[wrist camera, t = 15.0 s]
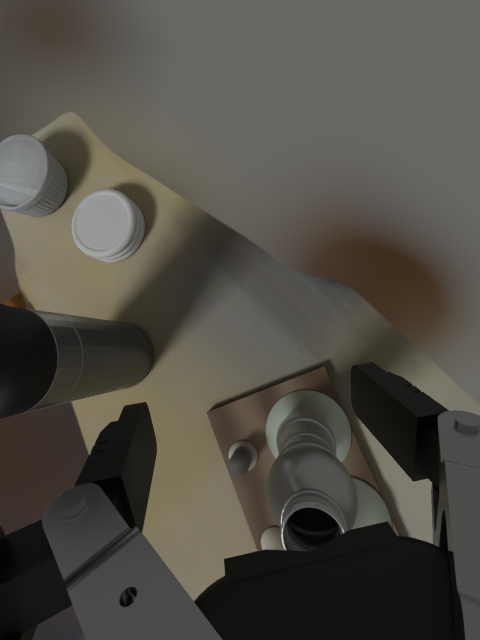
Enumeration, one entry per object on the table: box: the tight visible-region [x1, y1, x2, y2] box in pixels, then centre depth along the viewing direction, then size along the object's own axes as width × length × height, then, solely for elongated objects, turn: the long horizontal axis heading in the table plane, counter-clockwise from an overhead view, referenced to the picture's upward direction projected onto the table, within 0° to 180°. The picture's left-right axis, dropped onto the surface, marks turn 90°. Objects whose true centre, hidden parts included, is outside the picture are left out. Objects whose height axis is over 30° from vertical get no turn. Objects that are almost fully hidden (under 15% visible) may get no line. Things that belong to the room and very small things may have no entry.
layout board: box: [207, 366, 399, 551], centre depth 35 cm, size 16×23×4 cm
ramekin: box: [0, 135, 68, 217], centre depth 45 cm, size 11×11×5 cm
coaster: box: [72, 189, 145, 263], centre depth 43 cm, size 10×10×4 cm
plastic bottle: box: [266, 411, 358, 551], centre depth 26 cm, size 6×7×20 cm
